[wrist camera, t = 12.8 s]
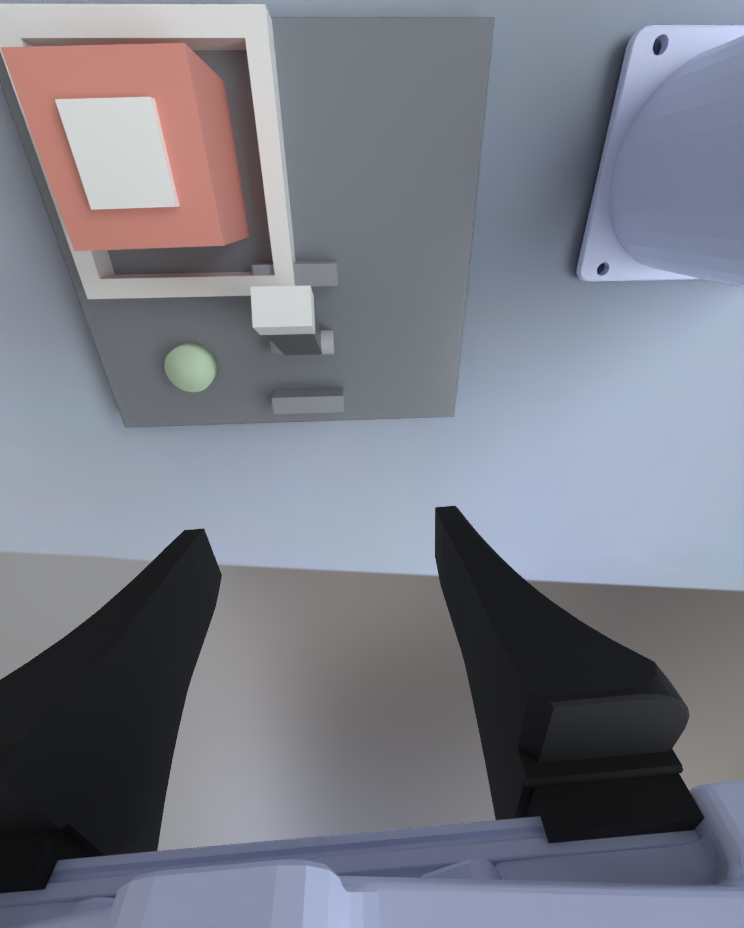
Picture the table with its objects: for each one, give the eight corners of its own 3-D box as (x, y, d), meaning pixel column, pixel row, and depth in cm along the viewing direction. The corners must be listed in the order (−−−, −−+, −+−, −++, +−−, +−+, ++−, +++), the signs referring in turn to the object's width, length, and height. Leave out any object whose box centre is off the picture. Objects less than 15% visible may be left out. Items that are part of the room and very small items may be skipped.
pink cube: (224, 82, 14) (180, 38, 10) (249, 236, 16) (221, 246, 13) (86, 86, 14) (-9, 43, 10) (132, 240, 16) (68, 252, 12)
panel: (483, 31, 14) (506, 2, 12) (449, 406, 22) (459, 427, 20) (3, 30, 14) (-57, 0, 12) (136, 416, 21) (113, 439, 19)
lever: (333, 330, 18) (323, 285, 13) (334, 358, 18) (325, 325, 13) (274, 332, 18) (237, 287, 13) (275, 360, 18) (239, 327, 13)
